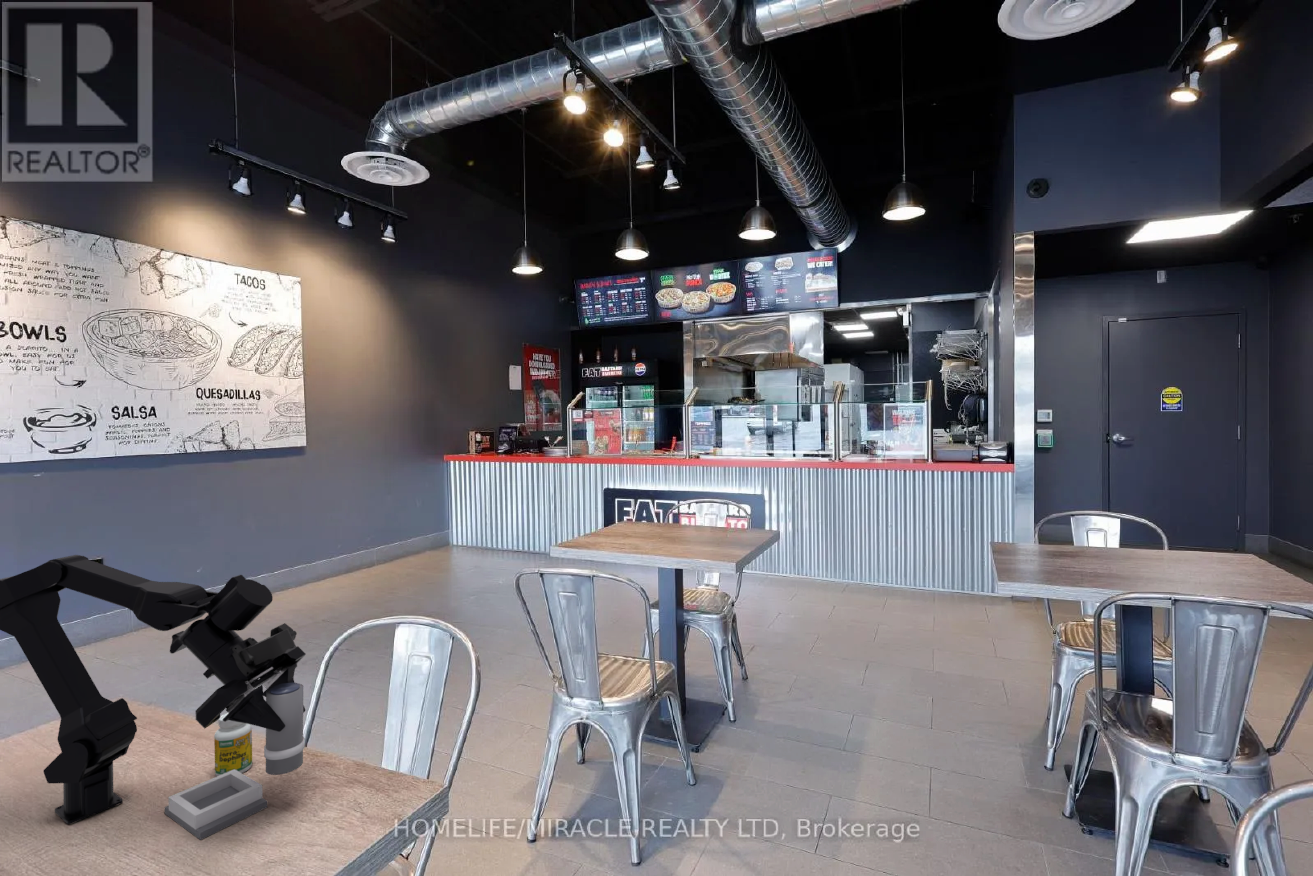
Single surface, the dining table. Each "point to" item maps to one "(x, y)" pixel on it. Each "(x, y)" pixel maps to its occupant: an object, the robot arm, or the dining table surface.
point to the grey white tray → (216, 803)
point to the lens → (285, 729)
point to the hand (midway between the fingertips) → (293, 721)
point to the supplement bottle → (232, 746)
